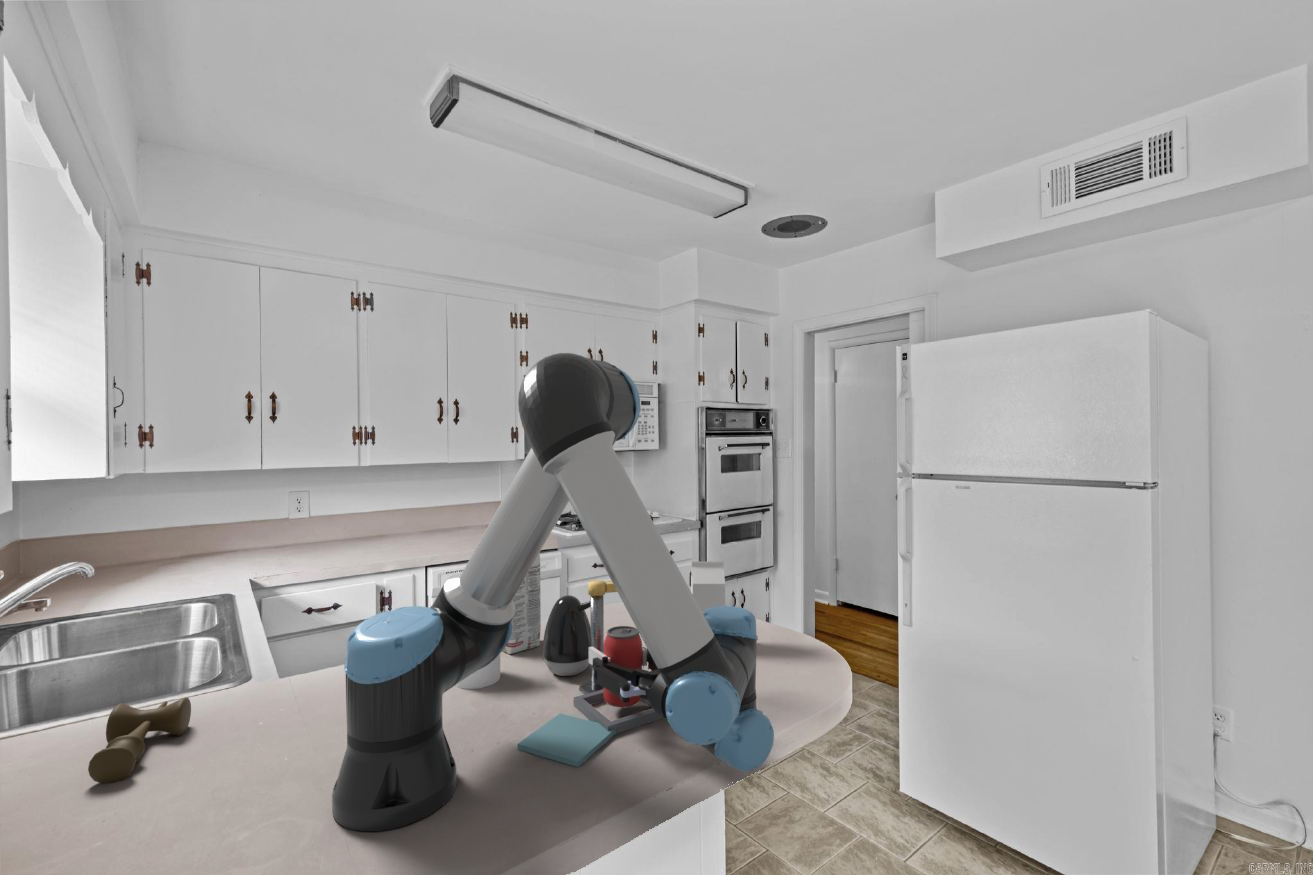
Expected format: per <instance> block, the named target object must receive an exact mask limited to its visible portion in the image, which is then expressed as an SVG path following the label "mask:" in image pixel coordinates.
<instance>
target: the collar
mask: <svg viewBox="0 0 1313 875" xmlns="http://www.w3.org/2000/svg"><path fill="white" fill-rule="evenodd" d="M640 701H642V702H644V703H645V704H647V705H648V706H650V707H651V708H649V709H646V710H643V711H639V712H637V713H633V714H630V715H627V716H624V717H620V718H618V719H614V720H609V718H608V717H606V716H605V715H604V714H602V713H601V712H600V711H599V710H598V709H596V707H594V706H593V705H594V704H598V703H601V702H606V701H605V700H604V689H603V690H599V691H595V692H592V693H588V694H584V693H583V694H580V695H578V696H574V697H573V707H574V708H575V709H577V711H578V712H580V713H581V714H582V715H583V716H584V717H585V718H587V720H589V721H593V722H597V723H599V724H600V725H601V726H603V727H604V728H605V729H606V730H607V731H609V730H612V729H615V728H616V734H617V733H621V732H624V731H627V730H630V729H634V728H636V727H639V726H642V725H646V724H649V723H651V722H655V721H658V720H661V719H664V718H663V717H662V716H660V715H659V714H658V713H656V711H655V710H654V709H653V707H652V705H651V704H650V702H649V701H648V700H646V699H642V698H641V700H640Z"/></svg>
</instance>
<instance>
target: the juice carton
mask: <svg viewBox="0 0 1313 875" xmlns="http://www.w3.org/2000/svg"><path fill="white" fill-rule="evenodd" d="M512 600H513V602H514V605H515V614H514V617H513V619H512V620H511V622H512V632H511V636H510V639H509V641H508V643H507V645H506V647H505V648H504V650H503V651H502V652H504V653H506V654H508V655H513V654H516V653H519V652H522V651H526V650H530V649H534V648H537V647H539V646H540V643H541V642H540V641H541V621H542V620H541V618H542V617H541V616H542V614H541V613H542V612H541V554H540V552H539V554H538V556H537V557H536V559H535V561H534V563H533V564H532V566H531V568H530V569H529V571H528V573H527V575H526V576H525V578H524V580H523V582H522V583H521V585H520V587H519V589H518V590H517V592H516V594H515V595H514V597H513V599H512Z"/></svg>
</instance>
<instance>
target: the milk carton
mask: <svg viewBox="0 0 1313 875" xmlns="http://www.w3.org/2000/svg"><path fill="white" fill-rule="evenodd" d="M724 566H725V564H724V561H691V569H690V570H691V571H690V591H691V593H692V595H693V596H694V598H695V600H696V602H697V604H698V606H699V607H700V609H701V611H702V613H703V612H704V611H705V610H706V609H708V608H711V607H716V606H726V578H725V567H724Z"/></svg>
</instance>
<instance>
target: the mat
mask: <svg viewBox="0 0 1313 875" xmlns="http://www.w3.org/2000/svg"><path fill="white" fill-rule="evenodd" d="M615 735H617V733H616V728H615V729H612V730H609V731H607V730H606V729H605V728H604V727H603V726H601V725H600V724H599V723H597V722H593V721H590V720H589V719H586V718H585V719H584V718H581V717H577V716H573V715H569V714H564V713H558V714H557V715H555V717H552V718H551V719H550V720H549V721H547V722H546V723H544V724H543V725H542V726H540V727H538V729H536V730H535V731H533V732H531V734H529V735H528V736H526V737H525V738H523V739H522V740H521V741H519V742H517V747H516V748H517V750H519V751H522V752H526V753H528V754H529V753H530V754H533V755H536V756H539V757H542V758H546V759H549V760H553V761H556V762H558V763H559V762H560V763H562V764H563V763H564V764H566V765H570V766H572V767H576V768H579V767H580V766H582V764H583V763H585V762H586V760H588V759H589V758H590V757H591V756H593V754H595V753H596V752H597V751H598V750H599V749H601V747H602V746H604V744H606V743H607V742H608V741H609V740H610V739H611V738H612V737H614V736H615Z"/></svg>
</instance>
